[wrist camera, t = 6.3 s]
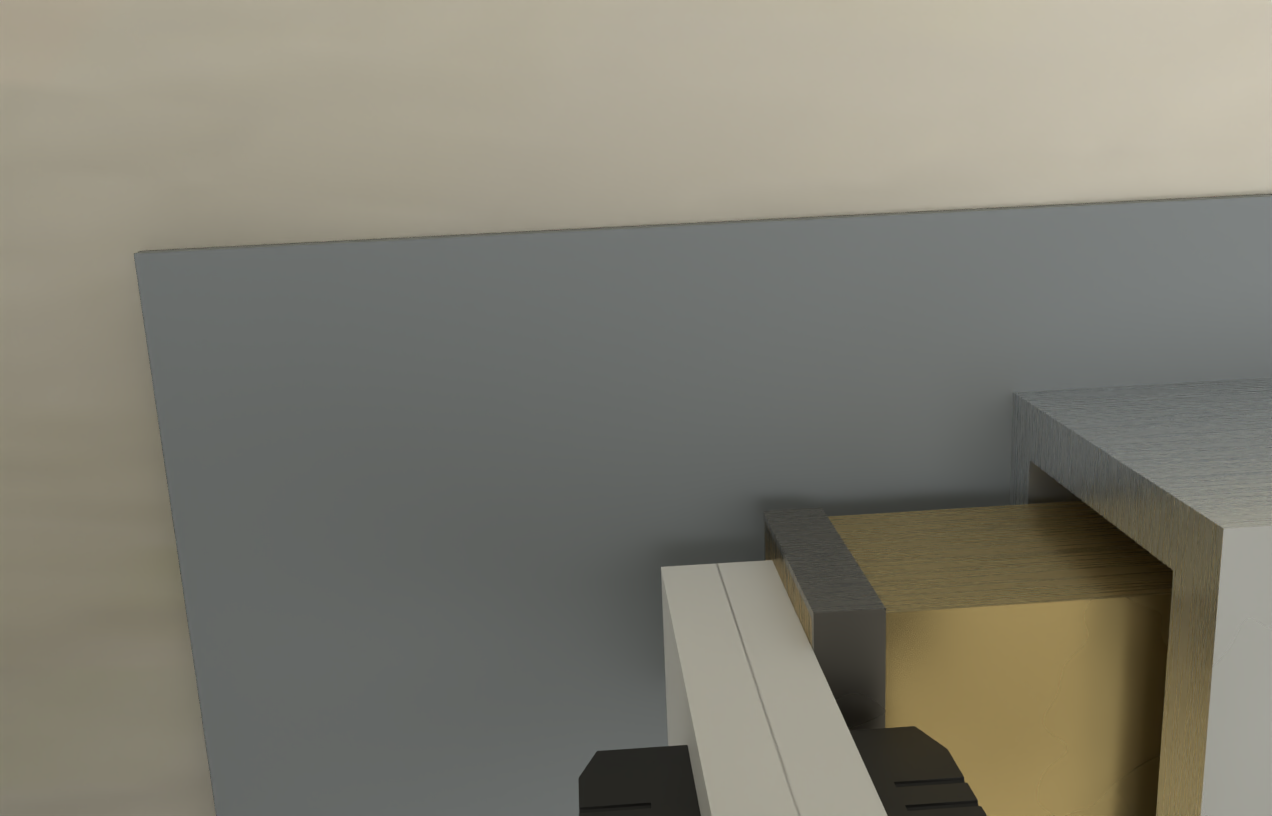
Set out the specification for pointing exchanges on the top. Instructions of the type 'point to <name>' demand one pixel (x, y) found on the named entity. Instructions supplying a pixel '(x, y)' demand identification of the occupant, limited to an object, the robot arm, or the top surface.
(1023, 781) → the rod
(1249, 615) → the guide sleeve
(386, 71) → the top surface
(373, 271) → the mat
